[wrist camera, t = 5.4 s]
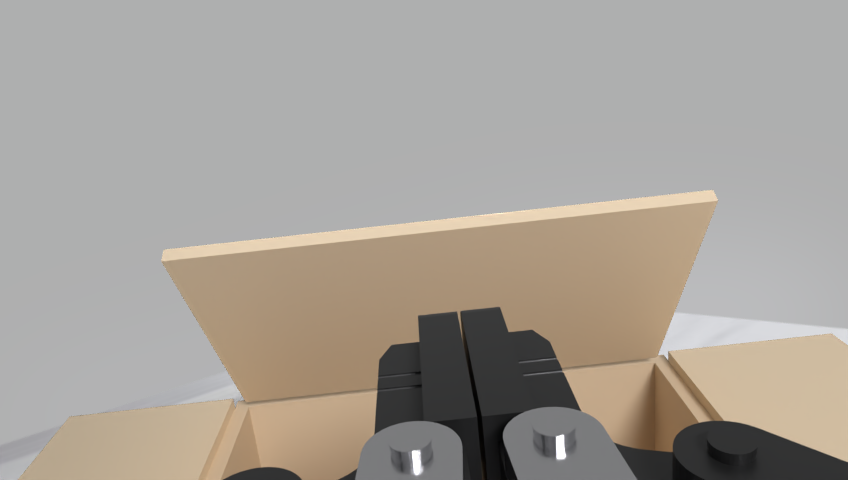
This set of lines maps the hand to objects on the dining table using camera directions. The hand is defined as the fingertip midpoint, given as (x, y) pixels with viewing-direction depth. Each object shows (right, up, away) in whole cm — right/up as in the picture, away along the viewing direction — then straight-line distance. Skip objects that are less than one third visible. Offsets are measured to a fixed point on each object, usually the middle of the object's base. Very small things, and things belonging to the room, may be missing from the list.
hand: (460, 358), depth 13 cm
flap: (0, -3, +13) cm, 13 cm away
